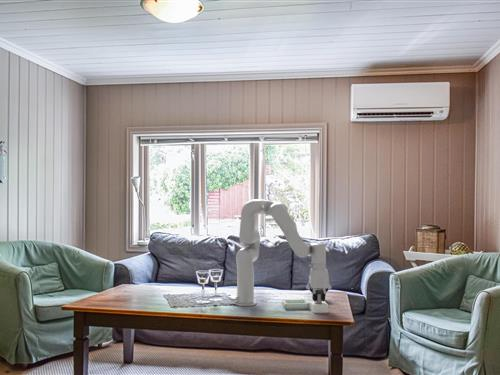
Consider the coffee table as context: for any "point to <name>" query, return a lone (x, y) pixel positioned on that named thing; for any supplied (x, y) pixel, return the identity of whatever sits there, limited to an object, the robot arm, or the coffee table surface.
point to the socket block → (318, 307)
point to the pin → (318, 296)
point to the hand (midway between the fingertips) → (318, 300)
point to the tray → (295, 304)
